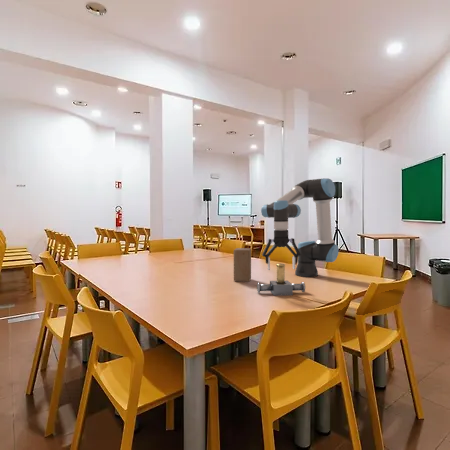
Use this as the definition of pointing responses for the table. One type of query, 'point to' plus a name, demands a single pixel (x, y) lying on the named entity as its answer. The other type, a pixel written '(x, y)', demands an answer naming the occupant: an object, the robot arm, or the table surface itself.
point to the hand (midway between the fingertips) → (281, 269)
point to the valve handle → (280, 273)
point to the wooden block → (242, 264)
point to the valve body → (281, 288)
